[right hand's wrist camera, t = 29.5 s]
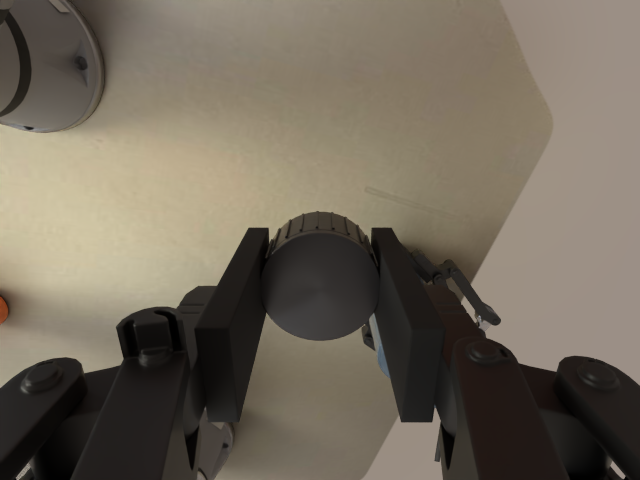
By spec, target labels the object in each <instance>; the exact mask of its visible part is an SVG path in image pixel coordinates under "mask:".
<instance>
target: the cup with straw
mask: <svg viewBox="0 0 640 480" xmlns="http://www.w3.org/2000/svg"><path fill="white" fill-rule="evenodd" d="M7 316H8V308H7V305H6V303H5V301H4V300H3V299H2V297H0V324H1V323H2V322H4V321H5V319H6V318H7Z"/></svg>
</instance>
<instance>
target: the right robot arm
mask: <svg viewBox="0 0 640 480" xmlns="http://www.w3.org/2000/svg"><path fill="white" fill-rule="evenodd" d="M103 86H104V64H103V58H102V54H101V50H100V47H99V44H98V42H97V39H96V37H95V35H94V33H93V31H92V29H91V27H90V26H89V24H88V23H87V21H86V20H85V18H84V17H83V15H82V14H81V13H80V12H79V11H78V9H77V8H76V7H75V6H74V5H73V4H72V3H71V2H70V1H69V0H0V124H3V125H8V126H10V127H13V128H17V129H20V130H24V131H30V132H40V133H47V132H56V131H63V130H67V129H70V128H73V127H75V126H77V125H79V124H81V123H82V122H83V121H85V120H86V119H87V118H88V117H89V116H90V115H91V114H92V113H93V111H94V110H95V108H96V107H97V105H98V103H99V101H100V98H101V95H102V91H103ZM268 247H269V229H268V228H248V230H247V232H246V234H245V236H244V237H243V239H242V241H241V243H240V245H239V247H238V248H237V250H236V252H235V254H234V256H233V258H232V260H231V261H230V263H229V265H228V267H227V269H226V271H225V272H224V274H223V276H222V278H221V280H220V282H219V283H218V285H217V286H198V287H196V288H195V289H193V290H192V291H190V292H189V293H187V294H186V295H185V297H184V298H183V300H182V301H181V303H180V304H179V306H178V307H177V308H176V309H174V308H171V307H153V308H147V309H143V310H140V311H138V312H135V313H132V314H131V315H129V316H127V317H126V318H124V319H123V320H122V321H121V322H120V323H119V324H118V325H117V326H116V329H117V333H118V337H119V341H120V346H121V350H122V354H123V358H124V360H123V362H122V364H121V365H120V366H116V367H112V368H108V369H103V370H98V371H94V372H89V373H84V371H83V368H82V364H81V363H80V362H79V361H77V360H76V359H72V358H67V357H65V358H54V359H50V360H47V361H42V362H39V363H37V364H35V365H33V366H31V367H29V368H27V369H24V370H23V371H22V372H20V373H19V374H17V375H16V376H14V377H13V378H12V379H10V380H9V381H8V382H7V383H6V384H5V385H4V386H2V387H1V388H0V480H16V477H17V475H18V474H19V473H20V472H21V471H22V469H23V468H24V467H25V466H26V465H27V463H28V462H29V464H30V467H31V468H30V469H29V470H28V471H27V473H26V474H25V475H24V476H23V477H22V478H20V479H19V480H197V475H198V466H199V457H200V448H201V440H202V436H201V429H200V423H199V422H200V420H201V417H202V414H203V411H204V409H205V406H206V412H207V419H208V422H239V420H240V416H241V412H242V408H243V404H244V400H245V396H246V392H247V388H248V384H249V380H250V376H251V372H252V368H253V364H254V360H255V356H256V352H257V348H258V344H259V340H260V336H261V332H262V328H263V324H264V320H265V316H266V310H265V308H264V306H263V304H262V298H261V284H260V275H261V271H262V269H263V266H264V263H265V260H264V258H265V255H266V253H267V250H268ZM371 247H372V249H373V251H374V254H375V257H376V260H377V263H378V266H379V267H378V270H379V274H380V289H379V302H378V305H377V308H376V309H375V311H374V315H375V319H376V323H377V327H378V331H379V335H380V339H381V343H382V347H383V351H384V355H385V359H386V363H387V367H388V371H389V375H390V379H391V383H392V387H393V391H394V395H395V399H396V403H397V407H398V411H399V415H400V419H401V422H432V420H433V414H434V407H435V406H436V409H437V412H438V414H439V417H440V420H441V423H440V429H439V436H438V442H437V448H436V454H435V461H437V462H439V461H440V456H441V465H442V474H443V480H640V386H639V385H638V384H637V383H636V382H635V381H634V380H632V379H631V378H630V377H629V376H627V375H626V374H625V373H623V372H622V371H620V370H619V369H617V368H616V367H614V366H611V365H609V364H607V363H605V362H603V361H601V360H597V359H594V358H590V357H583V356H570V357H565V358H564V359H563V360H561V361H560V362H559V366H558V369H557V372H554V371H549V370H544V369H540V368H535V367H530V366H527V365H523V364H519V363H518V361H517V359H516V357H515V356H514V355H513V353H512V352H511V351H510V350H509V349H507V348H506V347H505V346H503V345H502V344H500V343H498V342H495V341H493V340H491V339H487V338H485V337H484V336H483V334H482V333H481V331H480V330H479V328H478V327H477V326H476V324H475V323H474V321H473V320H472V318H471V317H470V315H469V314H468V313H467V312H466V310H465V308H464V307H463V305H461V302H460V301H459V299H458V298H457V296H456V295H455V293H453V292H452V291H450V290H449V289H447V288H446V287H445V286H443V285H422V283H421V281H420V279H419V277H418V276H417V274H416V272H415V270H414V268H413V266H412V265H411V263H410V261H409V259H408V257H407V255H406V254H405V252H404V250H403V248H402V246H401V244H400V243H399V241H398V239H397V237H396V235H395V233H394V231H393V230H392V228H372V233H371ZM612 460H613V461H614V463H615V464H616V465H617V466H618V467H619V469H620V470H621V471H622V472H623V473H624V475H625V476H626V477H625V478H624V479H622V478H621V477H619V476H618V475H617V474H616V472H615V471H614V470H613V469H612V468H611V466H610V465H611V463H612Z"/></svg>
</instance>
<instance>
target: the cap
mask: <svg viewBox="0 0 640 480" xmlns="http://www.w3.org/2000/svg"><path fill="white" fill-rule="evenodd" d="M264 260H265V263H264V266H263V269H262V271H261V275H260V284H261V298H262V304H263V306H264V308H265V310H266V312H267V314H268V315H269V316H270V318H271V319H272V320H273V321H274V322H275V323H276V324H277V325H278V326H279V327H281V328H282V329H283V330H285V331H286V332H288V333H290V334H292V335H294V336H297V337H300V338H304V339H308V340H318V341H324V340H332V339H337V338H340V337H344V336H346V335H348V334H350V333H352V332H354V331H356V330H357V329H359V328H360V327H361V326H363V325H364V324H365V323H366V322H367V321H368V320H369V318H370V317H371V316H372V314H373V313H374V311H375V309H376V308H377V305H378V302H379V289H380V274H379V270H378V267H379V266H378V263H377V260H376V257H375V254H374V251H373V249H372V247H371V245H370V242H369V239H368V236H367V235H365V234H364V233H363V231H362V230H361V229H360V228H359V225H358V224H357V225H356V224H354V223H353V222H352V221H350V220H349V219H347V217H343V216H340V215H337V214H334V213H333V212H331V213H329V212H319V211H316V212H312V213H307V214H304V213H303V214H302V215H300V216H298V217H296V218H294V219H292V220H291V219H290V220H289V221H288V223H286V224H285V225H284V226H283V227H282V228H281V229H280V228H279V229H278V232H277V234H276V235H275V237H274V239H273V240H272V239H271V241H270V244H269V247H268V250H267V253H266V255H265V258H264Z"/></svg>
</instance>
